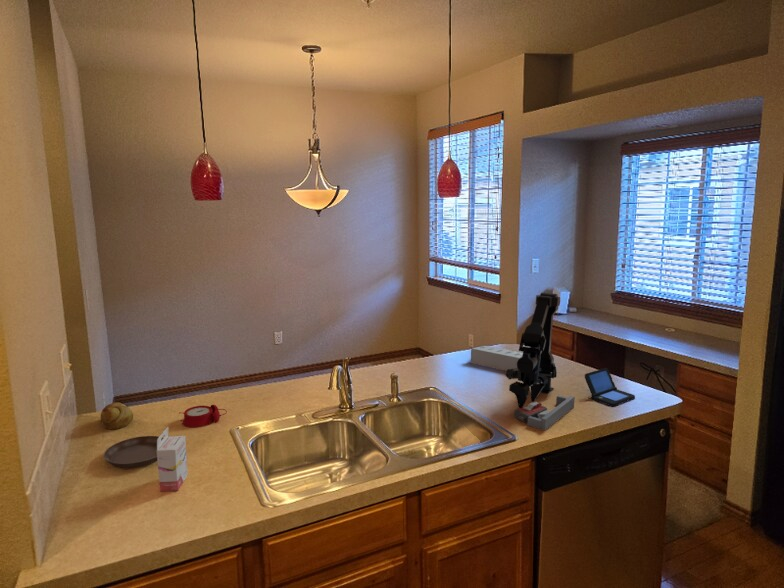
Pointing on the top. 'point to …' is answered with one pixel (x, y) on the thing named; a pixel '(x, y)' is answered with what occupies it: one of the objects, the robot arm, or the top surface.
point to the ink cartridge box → (171, 461)
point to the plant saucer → (133, 452)
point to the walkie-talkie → (530, 412)
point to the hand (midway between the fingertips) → (526, 405)
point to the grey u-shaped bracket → (553, 413)
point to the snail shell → (116, 416)
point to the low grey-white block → (495, 357)
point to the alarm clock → (201, 416)
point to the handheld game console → (605, 388)
